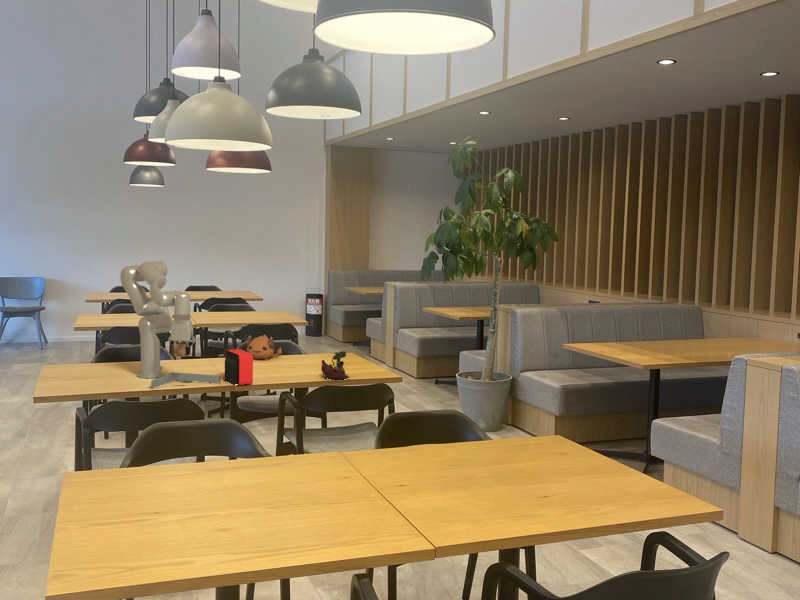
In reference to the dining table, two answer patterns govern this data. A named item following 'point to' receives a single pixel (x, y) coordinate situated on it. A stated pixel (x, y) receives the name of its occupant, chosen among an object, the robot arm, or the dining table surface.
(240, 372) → the red black block
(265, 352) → the toy
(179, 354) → the walnut block
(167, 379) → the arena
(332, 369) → the multicoloured piece
